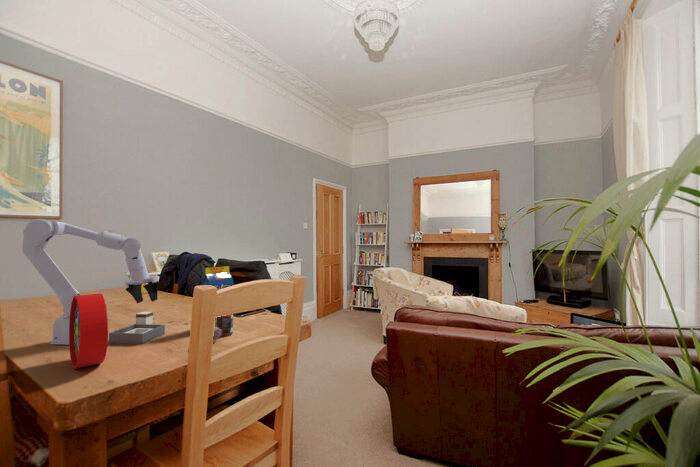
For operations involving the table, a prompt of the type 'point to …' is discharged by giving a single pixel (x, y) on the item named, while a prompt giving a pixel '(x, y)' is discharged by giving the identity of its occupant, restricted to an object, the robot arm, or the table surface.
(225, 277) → the blue food package
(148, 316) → the plug
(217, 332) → the video game controller
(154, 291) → the robot arm
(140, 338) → the walled box
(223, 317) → the supplement bottle
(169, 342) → the table surface
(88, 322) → the toy clock
